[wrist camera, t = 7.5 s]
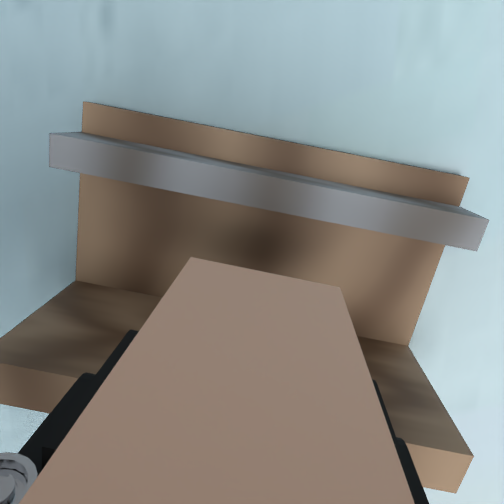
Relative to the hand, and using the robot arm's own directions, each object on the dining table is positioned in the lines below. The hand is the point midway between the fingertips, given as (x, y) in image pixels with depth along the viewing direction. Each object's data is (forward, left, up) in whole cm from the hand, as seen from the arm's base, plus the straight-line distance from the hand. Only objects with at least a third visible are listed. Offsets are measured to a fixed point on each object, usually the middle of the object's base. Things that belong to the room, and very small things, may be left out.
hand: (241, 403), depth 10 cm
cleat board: (0, 0, -13) cm, 13 cm away
